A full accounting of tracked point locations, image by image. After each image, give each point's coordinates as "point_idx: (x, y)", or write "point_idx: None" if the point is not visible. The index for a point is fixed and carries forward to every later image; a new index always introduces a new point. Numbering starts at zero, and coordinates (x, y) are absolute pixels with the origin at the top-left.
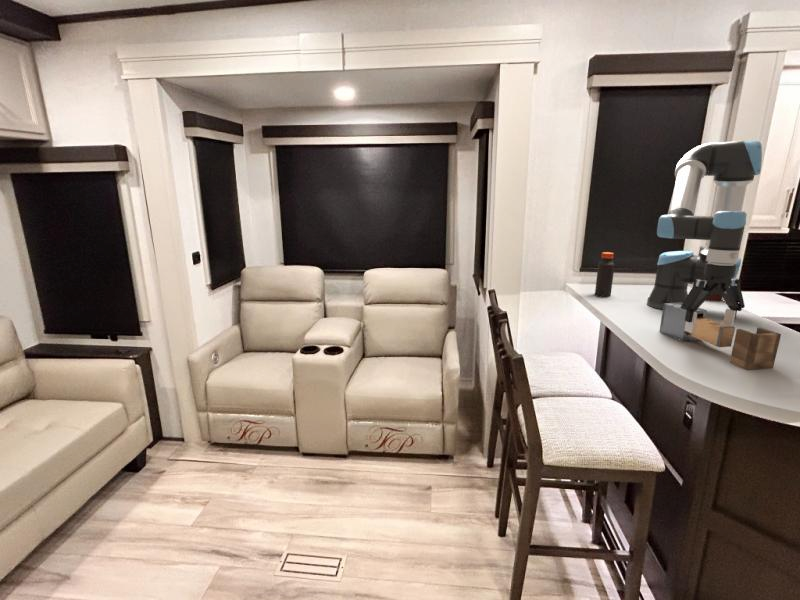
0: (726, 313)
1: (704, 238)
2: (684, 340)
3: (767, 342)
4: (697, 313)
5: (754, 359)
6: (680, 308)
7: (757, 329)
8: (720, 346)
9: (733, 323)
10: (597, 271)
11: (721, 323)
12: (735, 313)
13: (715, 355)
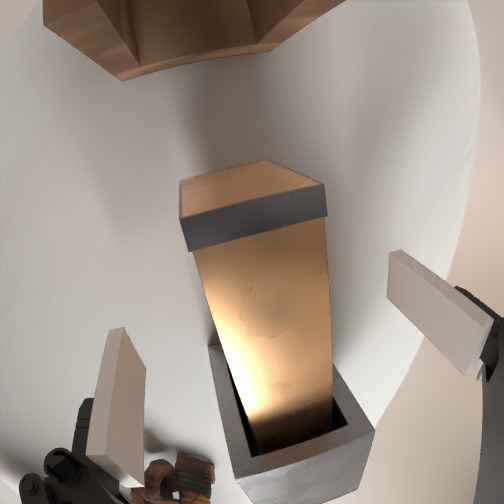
0: (138, 451)
1: None
2: None
3: None
4: (299, 445)
5: None
6: (362, 459)
7: (101, 2)
8: (260, 162)
9: (100, 367)
10: None
11: (226, 331)
12: (89, 434)
13: (277, 141)
